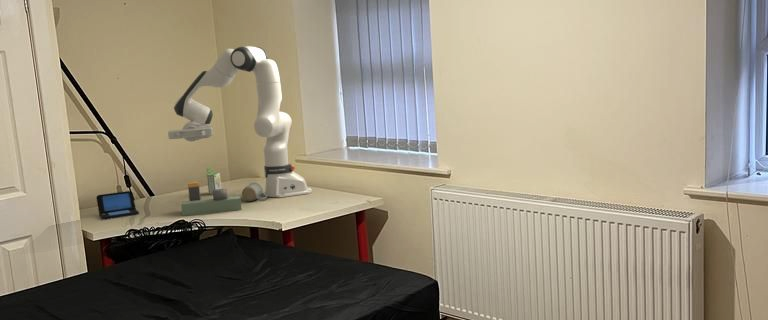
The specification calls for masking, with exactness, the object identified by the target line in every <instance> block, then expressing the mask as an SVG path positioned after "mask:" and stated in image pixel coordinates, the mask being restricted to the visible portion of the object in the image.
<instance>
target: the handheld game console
mask: <svg viewBox="0 0 768 320" xmlns="http://www.w3.org/2000/svg"><path fill="white" fill-rule="evenodd" d="M96 204H97V207H98V208H97V210H98V212H99V213H98V214H99V217H100V218H101V220H103V219H105V220H110V219H111V218H112V219H118V218H124V217H131V216H136V215H139V214H140V211H139V210H137V207H136V203H135V197H134V193H133V191H131V190H129V191H128V190H127V191H120V192H119V191H117V192H113V193H104V194H98V195H96Z"/></svg>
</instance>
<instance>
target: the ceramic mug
mask: <svg viewBox="0 0 768 320" xmlns="http://www.w3.org/2000/svg"><path fill="white" fill-rule="evenodd" d="M241 197H242V198H243V200H245V201H246V202H254V201H256V200H259V201H266V200H267V197H268V196H266V195H265V192H264V191H263V187H262V185H260V184H259V183H257V182H251V183H248V185H246V186H245V187H244V188H243V189H242V191H241Z"/></svg>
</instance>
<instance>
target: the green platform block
mask: <svg viewBox="0 0 768 320" xmlns="http://www.w3.org/2000/svg"><path fill="white" fill-rule="evenodd" d="M212 197H213V198H208V199H207V198H206V199H201V200H195V201H190V200H188V201H187V200H186V201H181V203H180V208H181V215H182V217H184V216H192V215H193V216H194V215H203V214H204V215H205V214H212V213H213V214H214V213H222V212H223V213H224V212H231V211H232V212H234V211H242V209H243V208H242V200H241V199H242V198H241V195H237V196H228V189H227V188H221V189H216V190H213V195H212Z"/></svg>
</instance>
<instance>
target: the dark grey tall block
mask: <svg viewBox="0 0 768 320" xmlns="http://www.w3.org/2000/svg"><path fill="white" fill-rule="evenodd" d="M187 187H188V189H187V190H188V197H189V201H195V200H202V199H201V191H200V183H199V181H192V182H191V181H189V182H187Z"/></svg>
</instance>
